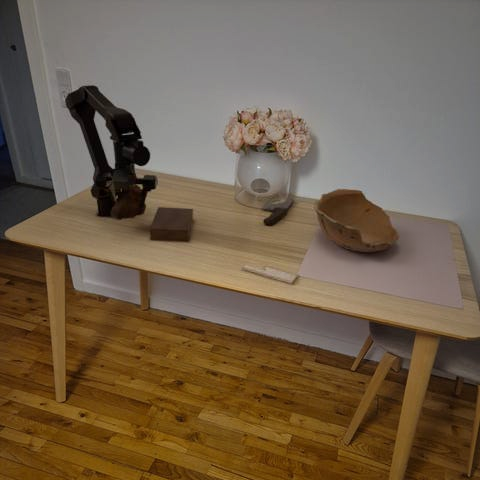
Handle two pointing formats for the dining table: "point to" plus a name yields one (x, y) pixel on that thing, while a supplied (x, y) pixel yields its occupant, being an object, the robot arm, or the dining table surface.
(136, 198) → the decorative rock
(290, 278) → the white plastic strip tool
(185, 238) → the dark walnut box
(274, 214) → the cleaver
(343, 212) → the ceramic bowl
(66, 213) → the dining table surface
